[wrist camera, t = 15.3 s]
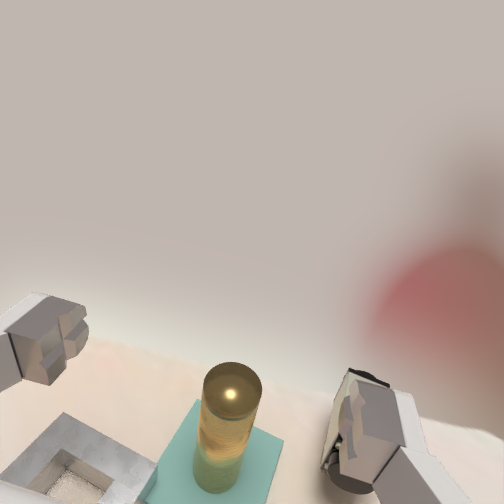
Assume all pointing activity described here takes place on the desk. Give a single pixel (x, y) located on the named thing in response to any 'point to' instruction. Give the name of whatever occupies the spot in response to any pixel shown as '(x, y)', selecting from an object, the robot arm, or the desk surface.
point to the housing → (83, 463)
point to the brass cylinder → (225, 425)
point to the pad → (181, 469)
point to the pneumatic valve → (334, 438)
